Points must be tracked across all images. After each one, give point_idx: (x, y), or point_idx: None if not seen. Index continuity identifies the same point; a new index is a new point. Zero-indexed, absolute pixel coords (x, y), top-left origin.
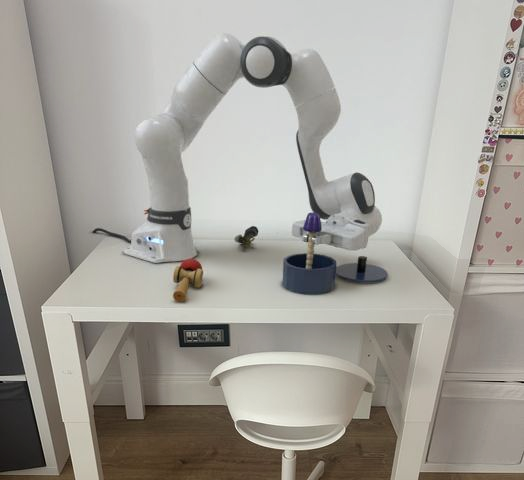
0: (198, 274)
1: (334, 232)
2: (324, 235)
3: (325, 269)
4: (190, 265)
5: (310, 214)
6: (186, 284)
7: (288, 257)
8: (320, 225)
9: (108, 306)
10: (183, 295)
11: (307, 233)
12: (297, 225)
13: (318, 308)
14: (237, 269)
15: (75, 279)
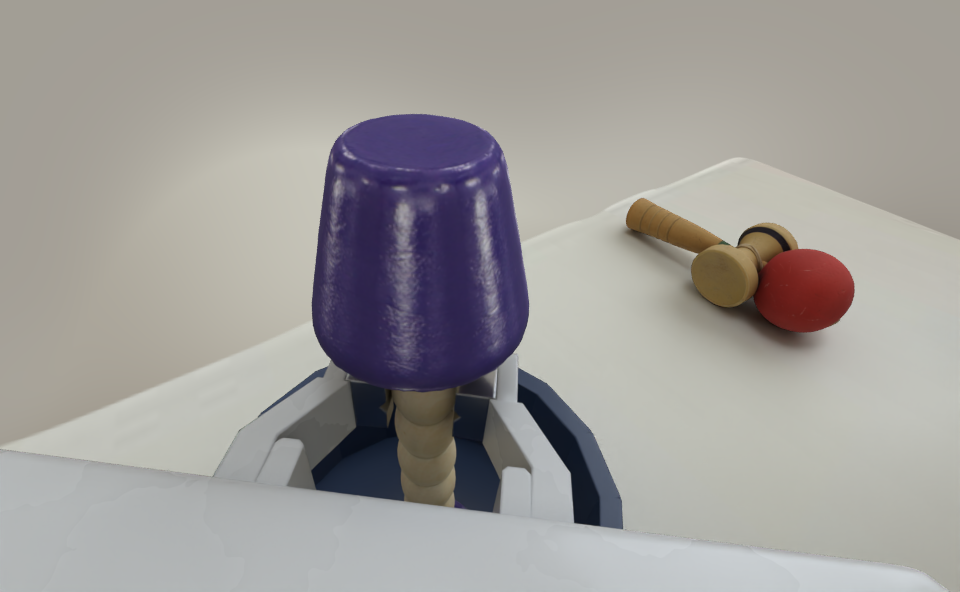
0: (709, 248)
1: (142, 478)
2: (301, 443)
3: (261, 413)
4: (783, 253)
5: (435, 117)
6: (676, 227)
7: (589, 467)
8: (315, 266)
9: (694, 179)
10: (629, 212)
11: (508, 403)
12: (827, 557)
13: (270, 351)
14: (869, 523)
15: (899, 219)
